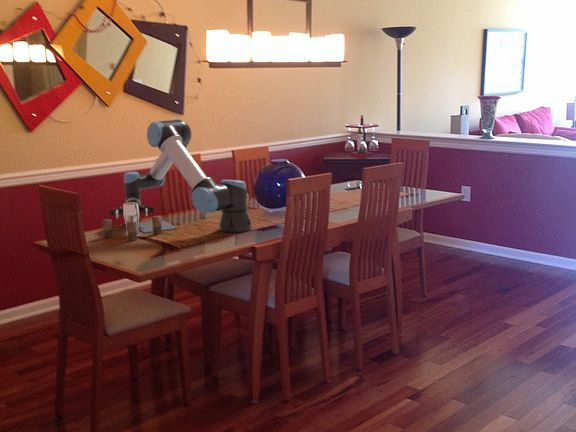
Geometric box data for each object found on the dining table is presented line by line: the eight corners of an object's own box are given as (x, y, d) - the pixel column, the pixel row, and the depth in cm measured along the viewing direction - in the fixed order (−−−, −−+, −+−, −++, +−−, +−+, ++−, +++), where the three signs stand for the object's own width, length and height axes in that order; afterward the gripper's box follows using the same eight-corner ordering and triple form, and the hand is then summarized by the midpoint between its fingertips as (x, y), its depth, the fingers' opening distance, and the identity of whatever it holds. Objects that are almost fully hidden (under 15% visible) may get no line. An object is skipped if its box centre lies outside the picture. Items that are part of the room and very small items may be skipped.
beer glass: (122, 236, 320) (119, 204, 317) (130, 233, 326) (128, 201, 323) (135, 237, 317) (133, 205, 314) (143, 234, 324) (141, 202, 321)
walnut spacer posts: (167, 236, 319) (165, 218, 317) (112, 243, 307) (110, 226, 305) (155, 229, 332) (154, 213, 331) (102, 237, 321) (101, 219, 319)
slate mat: (178, 228, 333) (177, 227, 333) (145, 233, 326) (145, 232, 325) (163, 221, 350) (163, 220, 350) (132, 226, 343) (132, 224, 343)
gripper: (158, 212, 352) (159, 220, 331) (107, 215, 347) (104, 224, 327) (157, 197, 350) (158, 204, 330) (106, 200, 346) (103, 208, 325)
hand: (131, 214), depth 328 cm, fingers open, 13 cm apart
